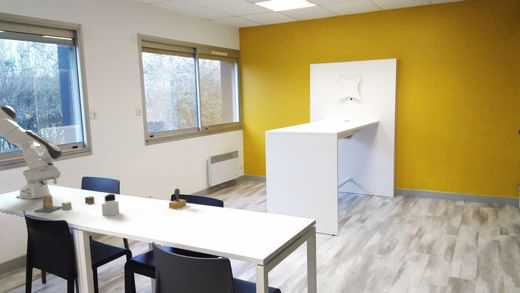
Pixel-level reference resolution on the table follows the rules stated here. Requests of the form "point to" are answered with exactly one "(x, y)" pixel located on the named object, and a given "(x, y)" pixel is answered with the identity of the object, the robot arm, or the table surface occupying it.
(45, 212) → the grey mat
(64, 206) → the sage cube
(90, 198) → the walnut cube
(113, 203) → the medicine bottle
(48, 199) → the oak block
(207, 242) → the table surface
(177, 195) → the rubber stamp
